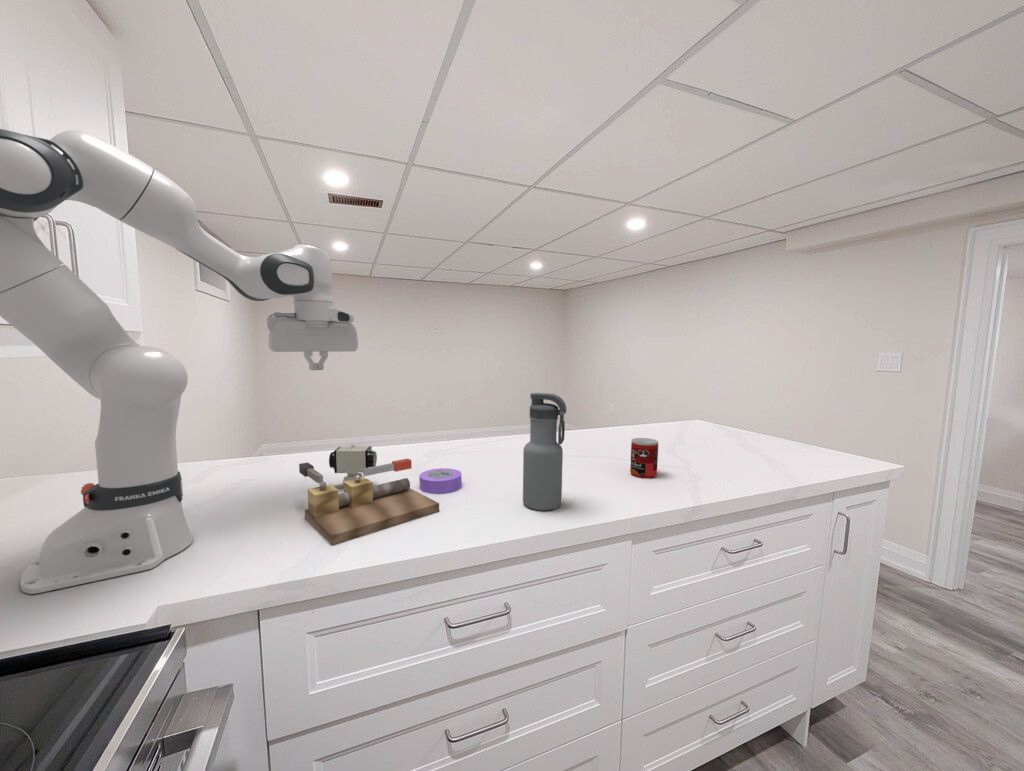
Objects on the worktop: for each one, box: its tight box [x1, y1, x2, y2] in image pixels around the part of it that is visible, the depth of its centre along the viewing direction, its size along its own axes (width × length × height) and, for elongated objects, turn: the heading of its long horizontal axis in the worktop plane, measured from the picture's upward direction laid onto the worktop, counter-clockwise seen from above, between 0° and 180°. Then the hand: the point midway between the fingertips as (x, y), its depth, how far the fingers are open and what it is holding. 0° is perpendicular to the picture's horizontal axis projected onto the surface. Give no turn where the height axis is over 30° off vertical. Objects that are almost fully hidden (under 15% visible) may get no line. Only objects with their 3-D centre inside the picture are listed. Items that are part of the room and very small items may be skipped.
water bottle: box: [522, 392, 567, 512], centre depth 102 cm, size 10×10×28 cm
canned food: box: [629, 437, 659, 479], centre depth 127 cm, size 8×8×11 cm
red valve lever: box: [355, 458, 412, 482], centre depth 102 cm, size 2×14×3 cm, turn 131°
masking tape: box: [418, 467, 463, 495], centre depth 115 cm, size 12×12×4 cm
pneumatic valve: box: [328, 443, 378, 482], centre depth 114 cm, size 6×12×12 cm, turn 96°
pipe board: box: [298, 462, 440, 546], centre depth 99 cm, size 25×27×10 cm
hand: (316, 370), depth 103 cm, fingers closed
